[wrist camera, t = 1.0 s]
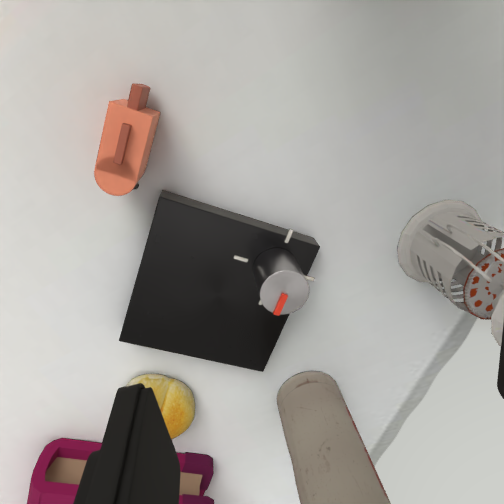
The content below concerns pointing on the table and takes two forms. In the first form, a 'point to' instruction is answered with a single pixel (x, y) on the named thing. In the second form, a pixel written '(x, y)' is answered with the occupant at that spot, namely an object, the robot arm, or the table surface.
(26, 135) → the table surface
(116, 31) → the table surface
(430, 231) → the french press
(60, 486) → the book
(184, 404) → the bread roll
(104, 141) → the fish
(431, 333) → the table surface
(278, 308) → the knob
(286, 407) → the thermos bottle
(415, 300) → the table surface
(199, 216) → the hot plate
